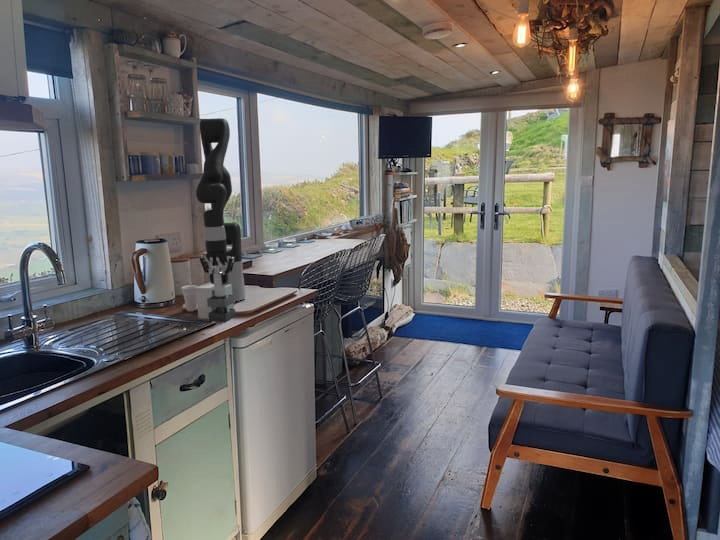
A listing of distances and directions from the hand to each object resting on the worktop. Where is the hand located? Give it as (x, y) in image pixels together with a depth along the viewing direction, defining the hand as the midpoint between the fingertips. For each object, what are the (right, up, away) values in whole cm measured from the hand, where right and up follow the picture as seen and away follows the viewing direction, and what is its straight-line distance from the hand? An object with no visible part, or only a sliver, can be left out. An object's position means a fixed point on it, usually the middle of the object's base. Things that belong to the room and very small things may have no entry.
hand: (219, 283), depth 202 cm
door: (+1, -11, +5) cm, 12 cm away
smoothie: (-15, -11, +16) cm, 25 cm away
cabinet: (-2, -13, +6) cm, 14 cm away
